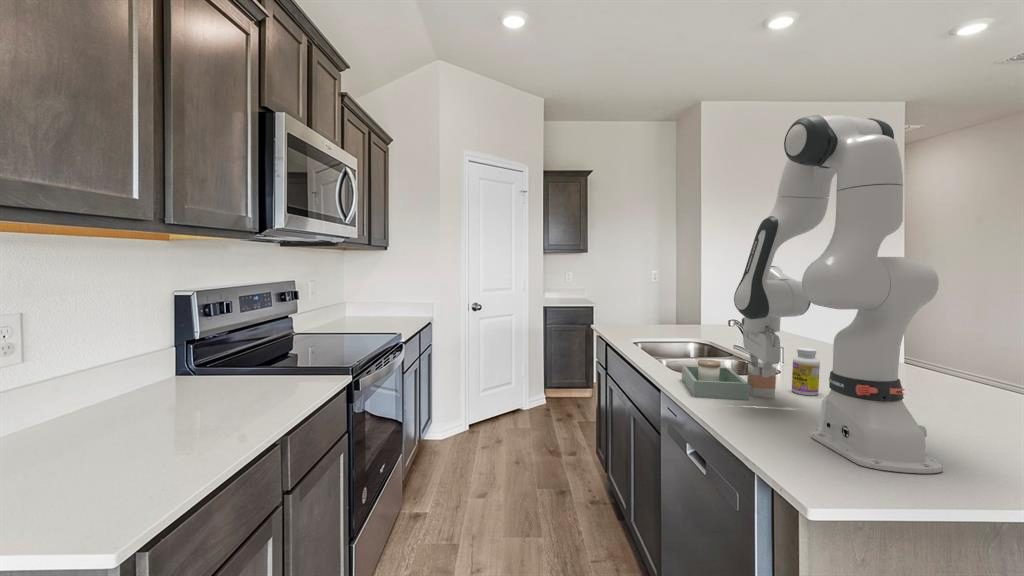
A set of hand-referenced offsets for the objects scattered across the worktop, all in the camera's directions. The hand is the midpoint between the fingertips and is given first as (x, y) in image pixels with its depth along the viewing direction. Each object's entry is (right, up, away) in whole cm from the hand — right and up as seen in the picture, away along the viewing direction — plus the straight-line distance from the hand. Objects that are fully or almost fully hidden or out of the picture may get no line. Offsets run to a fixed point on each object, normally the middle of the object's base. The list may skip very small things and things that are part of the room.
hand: (759, 372), depth 134 cm
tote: (-11, -6, +6) cm, 14 cm away
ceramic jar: (-10, -6, +11) cm, 16 cm away
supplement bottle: (+15, -7, +4) cm, 17 cm away
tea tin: (0, -7, 0) cm, 7 cm away
